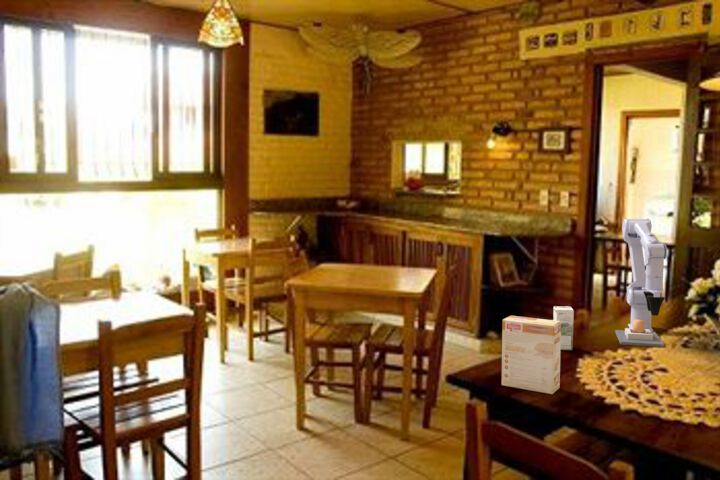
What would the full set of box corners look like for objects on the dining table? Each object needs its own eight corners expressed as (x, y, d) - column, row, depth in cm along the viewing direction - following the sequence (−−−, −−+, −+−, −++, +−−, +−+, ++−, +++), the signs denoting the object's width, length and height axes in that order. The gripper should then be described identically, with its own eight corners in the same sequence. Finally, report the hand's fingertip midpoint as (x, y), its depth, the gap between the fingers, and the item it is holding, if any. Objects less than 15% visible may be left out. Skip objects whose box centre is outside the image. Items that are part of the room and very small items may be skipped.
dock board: (615, 332, 244) (615, 324, 244) (655, 334, 240) (655, 326, 240) (620, 344, 227) (621, 336, 226) (663, 347, 223) (664, 338, 223)
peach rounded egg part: (631, 335, 236) (632, 319, 235) (643, 335, 235) (644, 319, 234) (633, 337, 232) (634, 321, 231) (645, 338, 231) (645, 322, 230)
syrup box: (568, 346, 225) (570, 305, 224) (572, 350, 219) (573, 309, 218) (552, 345, 226) (553, 305, 224) (555, 350, 220) (556, 309, 218)
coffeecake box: (560, 387, 182) (561, 320, 180) (552, 395, 176) (554, 325, 174) (509, 378, 190) (510, 314, 188) (500, 385, 184) (501, 319, 182)
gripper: (639, 273, 241) (638, 308, 242) (645, 279, 227) (644, 316, 228) (660, 273, 239) (658, 309, 240) (667, 279, 225) (665, 317, 226)
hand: (652, 313), depth 234 cm, fingers open, 7 cm apart
